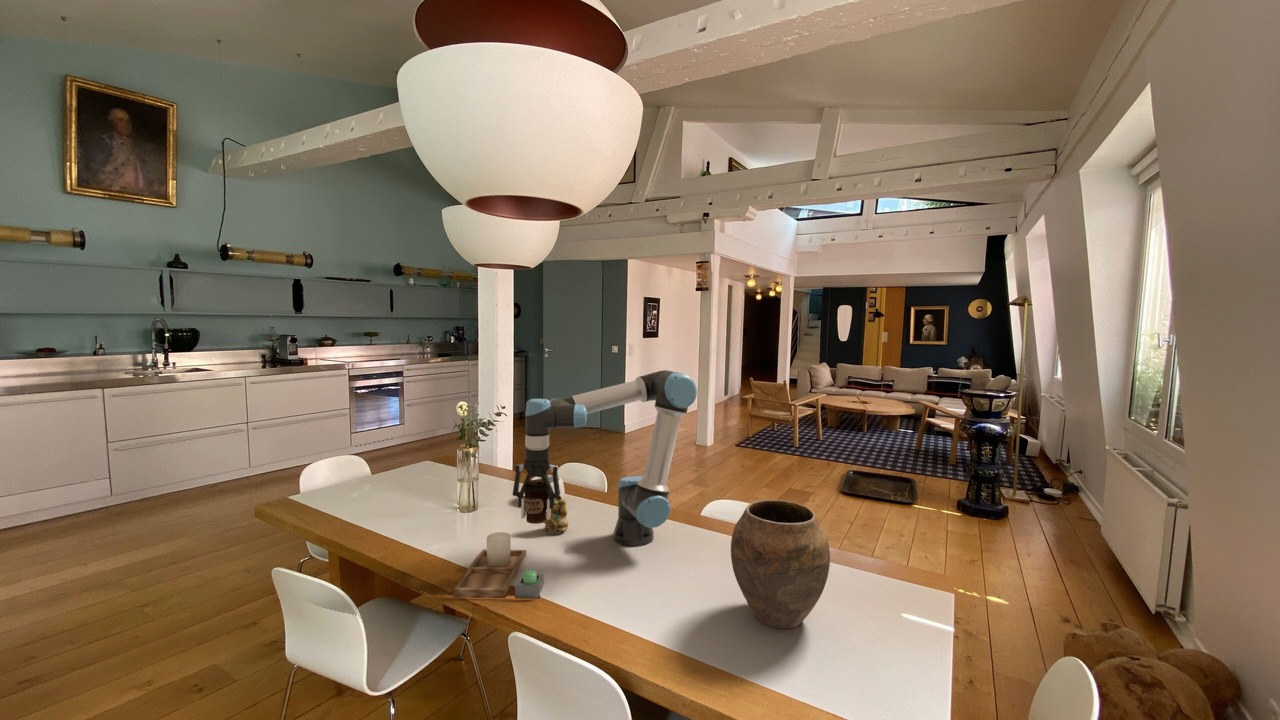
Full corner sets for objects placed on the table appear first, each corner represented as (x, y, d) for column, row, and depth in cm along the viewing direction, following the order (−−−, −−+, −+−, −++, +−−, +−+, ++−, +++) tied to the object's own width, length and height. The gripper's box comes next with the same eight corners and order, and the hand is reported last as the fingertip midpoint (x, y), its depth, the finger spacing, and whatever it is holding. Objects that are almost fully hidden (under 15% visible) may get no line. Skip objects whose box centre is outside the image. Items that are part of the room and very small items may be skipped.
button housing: (543, 586, 158) (543, 574, 158) (539, 598, 151) (539, 585, 151) (521, 586, 158) (520, 573, 158) (515, 598, 151) (515, 585, 151)
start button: (537, 585, 157) (537, 569, 156) (535, 592, 153) (535, 576, 152) (524, 585, 157) (524, 569, 156) (521, 592, 153) (521, 575, 152)
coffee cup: (543, 527, 162) (544, 486, 161) (518, 524, 164) (519, 484, 163) (553, 517, 170) (554, 478, 170) (530, 515, 172) (530, 476, 171)
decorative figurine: (540, 533, 199) (540, 495, 198) (549, 525, 207) (549, 488, 206) (564, 536, 196) (564, 497, 195) (572, 527, 204) (572, 490, 203)
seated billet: (513, 558, 175) (513, 532, 174) (507, 568, 167) (507, 541, 167) (490, 558, 175) (490, 532, 174) (483, 568, 167) (483, 541, 167)
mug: (525, 496, 241) (525, 475, 241) (561, 493, 246) (561, 472, 246) (530, 512, 221) (530, 489, 220) (569, 508, 226) (569, 486, 225)
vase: (710, 616, 143) (712, 509, 141) (762, 583, 161) (764, 489, 159) (797, 660, 124) (800, 538, 122) (844, 617, 143) (848, 511, 141)
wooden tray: (526, 557, 178) (526, 550, 178) (505, 598, 151) (504, 590, 151) (482, 556, 178) (482, 549, 178) (453, 597, 151) (453, 589, 151)
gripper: (570, 445, 169) (569, 514, 170) (508, 443, 169) (507, 512, 171) (567, 451, 162) (565, 523, 163) (502, 449, 162) (501, 520, 163)
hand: (536, 517), depth 167 cm, fingers closed on coffee cup, 7 cm apart
